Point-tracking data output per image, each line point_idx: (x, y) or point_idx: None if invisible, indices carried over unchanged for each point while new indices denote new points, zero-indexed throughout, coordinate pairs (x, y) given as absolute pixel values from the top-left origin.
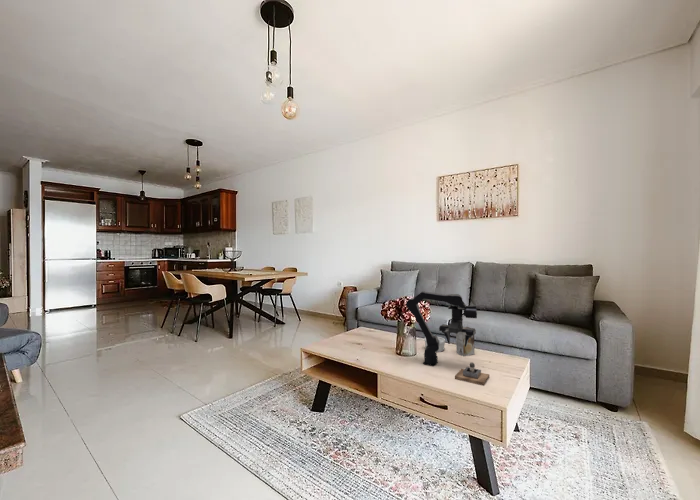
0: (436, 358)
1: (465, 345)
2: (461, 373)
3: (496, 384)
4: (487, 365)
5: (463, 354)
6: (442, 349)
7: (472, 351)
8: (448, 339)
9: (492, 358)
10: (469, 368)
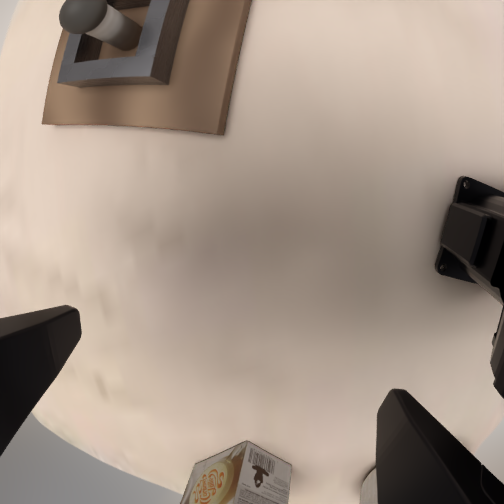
0: (470, 227)
1: (56, 311)
2: (207, 23)
3: (37, 49)
4: (91, 331)
5: (244, 449)
6: (373, 475)
7: (197, 474)
8: (429, 451)
9: (108, 425)
10: (128, 57)
